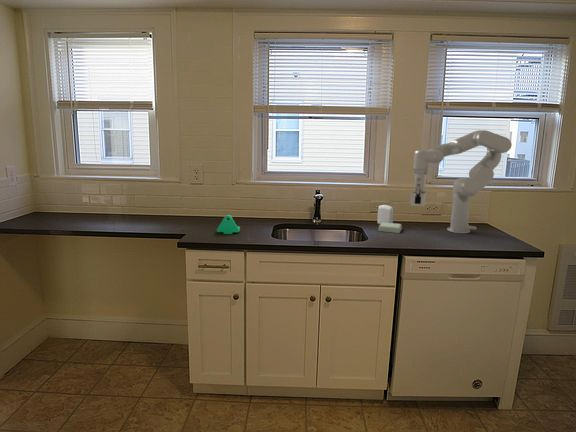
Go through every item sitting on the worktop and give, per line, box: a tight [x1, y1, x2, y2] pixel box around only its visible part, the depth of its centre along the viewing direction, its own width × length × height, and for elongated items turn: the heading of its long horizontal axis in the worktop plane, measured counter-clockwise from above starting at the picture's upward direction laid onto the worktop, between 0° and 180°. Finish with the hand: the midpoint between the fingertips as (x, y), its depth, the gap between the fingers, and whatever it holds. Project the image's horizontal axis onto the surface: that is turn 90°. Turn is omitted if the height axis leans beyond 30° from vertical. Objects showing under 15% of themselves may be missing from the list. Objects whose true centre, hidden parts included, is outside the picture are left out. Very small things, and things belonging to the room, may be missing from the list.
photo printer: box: [377, 204, 394, 225], centre depth 255 cm, size 10×4×12 cm, turn 39°
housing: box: [409, 190, 427, 207], centre depth 237 cm, size 8×5×8 cm, turn 69°
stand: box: [378, 222, 403, 234], centre depth 241 cm, size 12×12×3 cm
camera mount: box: [216, 214, 241, 235], centre depth 228 cm, size 12×8×10 cm, turn 91°
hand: (417, 202), depth 238 cm, fingers closed on housing, 5 cm apart
